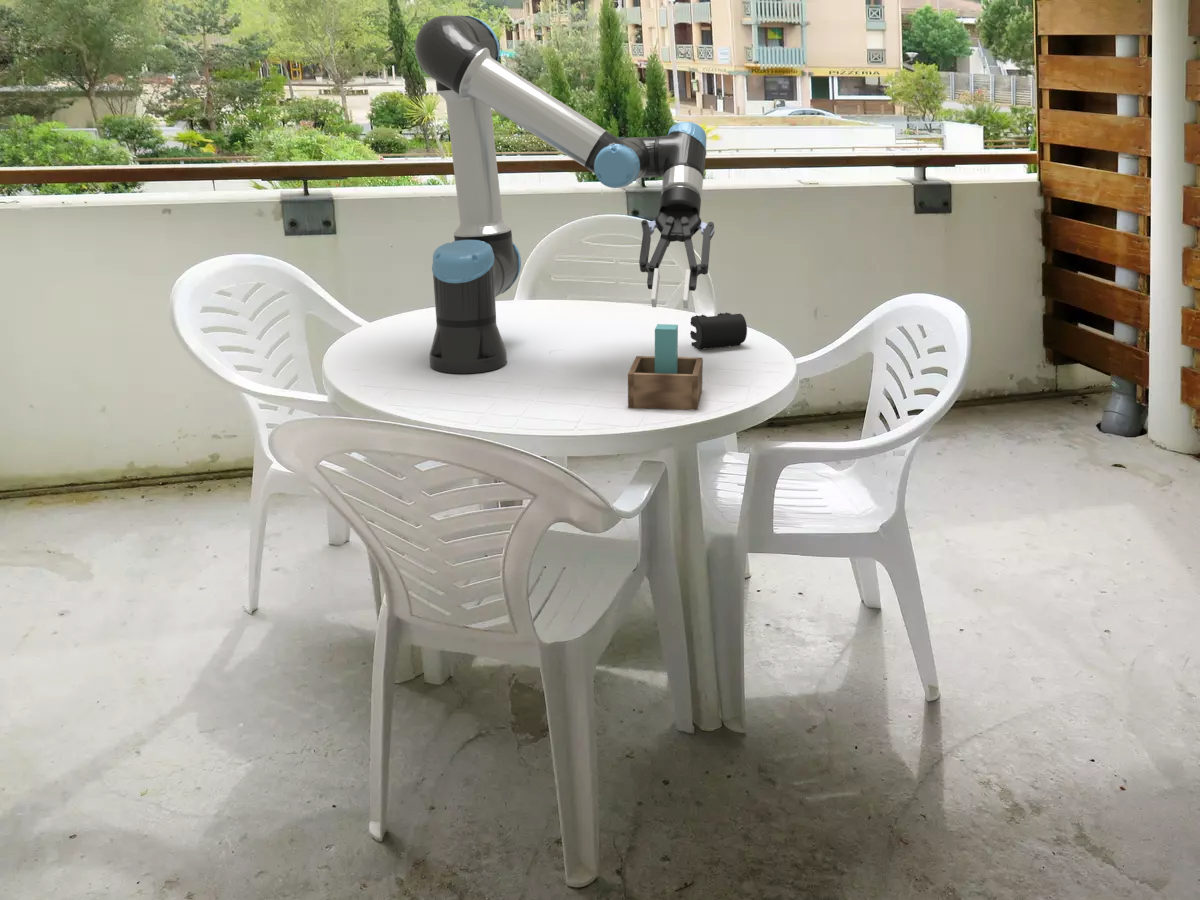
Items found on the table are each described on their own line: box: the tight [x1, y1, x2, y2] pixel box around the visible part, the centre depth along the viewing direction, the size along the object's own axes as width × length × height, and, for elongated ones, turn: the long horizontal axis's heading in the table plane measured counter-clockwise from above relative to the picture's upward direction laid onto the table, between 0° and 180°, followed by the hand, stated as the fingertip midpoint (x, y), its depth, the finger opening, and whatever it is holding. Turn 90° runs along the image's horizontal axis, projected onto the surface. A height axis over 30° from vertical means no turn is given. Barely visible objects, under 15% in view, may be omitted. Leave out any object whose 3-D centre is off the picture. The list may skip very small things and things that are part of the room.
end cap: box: [689, 311, 748, 351], centre depth 240 cm, size 10×7×7 cm
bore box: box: [627, 355, 704, 411], centre depth 206 cm, size 12×12×6 cm
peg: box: [654, 323, 679, 374], centre depth 205 cm, size 4×4×13 cm
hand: (669, 303), depth 208 cm, fingers open, 5 cm apart
